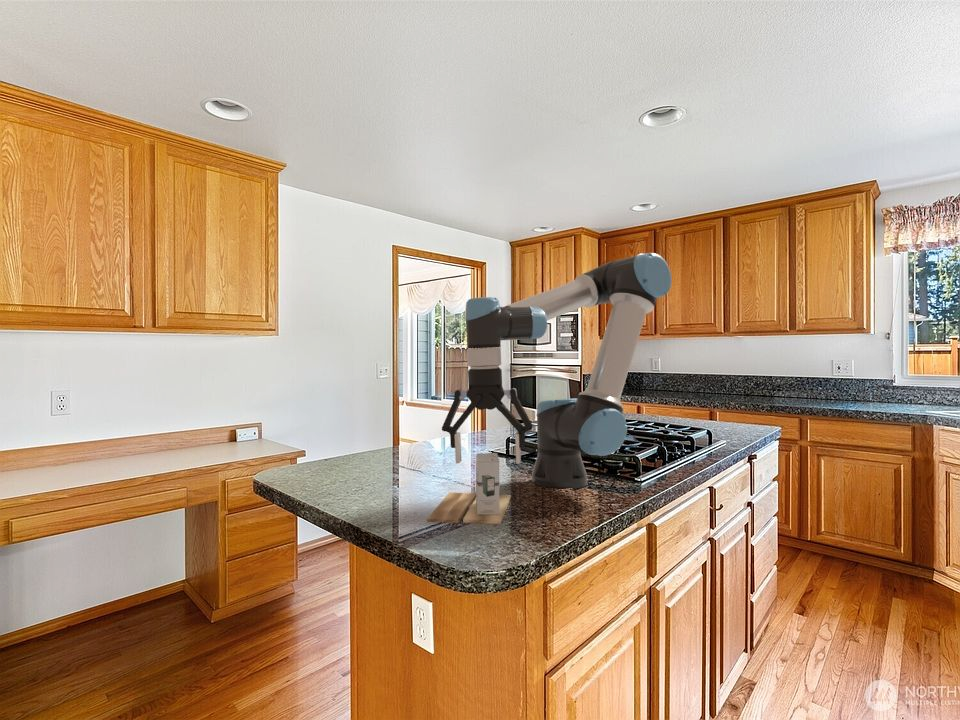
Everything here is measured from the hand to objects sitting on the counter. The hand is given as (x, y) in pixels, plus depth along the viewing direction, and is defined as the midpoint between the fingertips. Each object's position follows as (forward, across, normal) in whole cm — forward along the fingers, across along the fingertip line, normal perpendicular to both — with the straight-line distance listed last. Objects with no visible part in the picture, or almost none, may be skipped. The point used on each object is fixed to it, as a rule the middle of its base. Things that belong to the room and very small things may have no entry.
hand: (488, 462), depth 112 cm
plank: (+12, +1, -1) cm, 12 cm away
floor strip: (+12, +9, -2) cm, 14 cm away
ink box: (+11, +1, 0) cm, 11 cm away
